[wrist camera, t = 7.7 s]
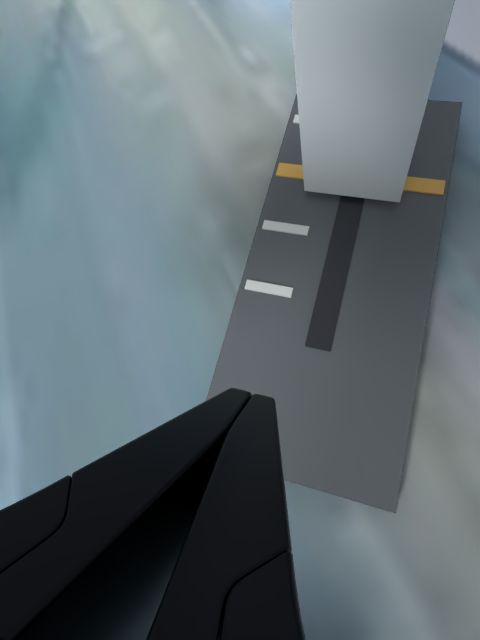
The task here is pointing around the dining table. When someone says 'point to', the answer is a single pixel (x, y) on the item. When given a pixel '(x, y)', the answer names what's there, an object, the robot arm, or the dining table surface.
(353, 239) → the console
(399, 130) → the fader tab
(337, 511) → the dining table surface
